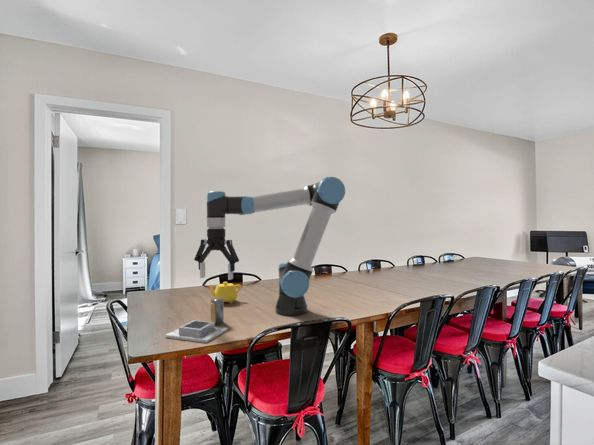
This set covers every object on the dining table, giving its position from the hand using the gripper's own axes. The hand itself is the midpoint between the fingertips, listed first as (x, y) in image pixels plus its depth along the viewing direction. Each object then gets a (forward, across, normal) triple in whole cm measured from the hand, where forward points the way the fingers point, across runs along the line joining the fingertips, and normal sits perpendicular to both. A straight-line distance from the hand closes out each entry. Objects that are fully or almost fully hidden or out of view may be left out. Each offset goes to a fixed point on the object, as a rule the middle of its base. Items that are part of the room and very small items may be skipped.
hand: (216, 278), depth 139 cm
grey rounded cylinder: (+19, 0, 0) cm, 19 cm away
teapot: (+19, +16, -32) cm, 41 cm away
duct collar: (+19, 0, +14) cm, 23 cm away
